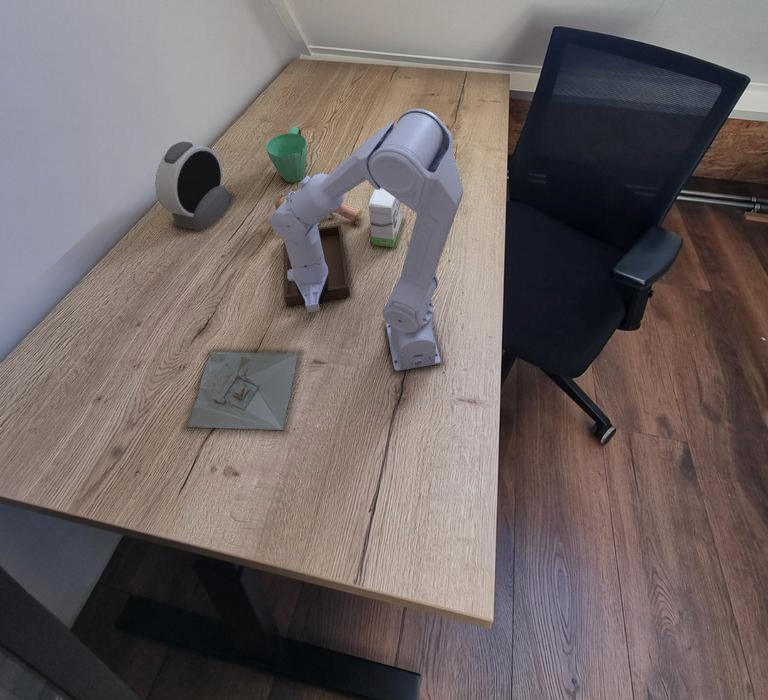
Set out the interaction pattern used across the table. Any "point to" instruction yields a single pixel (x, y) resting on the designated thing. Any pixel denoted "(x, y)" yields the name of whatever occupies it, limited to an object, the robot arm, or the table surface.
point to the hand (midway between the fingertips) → (317, 302)
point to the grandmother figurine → (349, 213)
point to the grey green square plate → (244, 391)
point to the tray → (335, 265)
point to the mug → (288, 154)
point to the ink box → (384, 218)
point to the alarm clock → (191, 185)
